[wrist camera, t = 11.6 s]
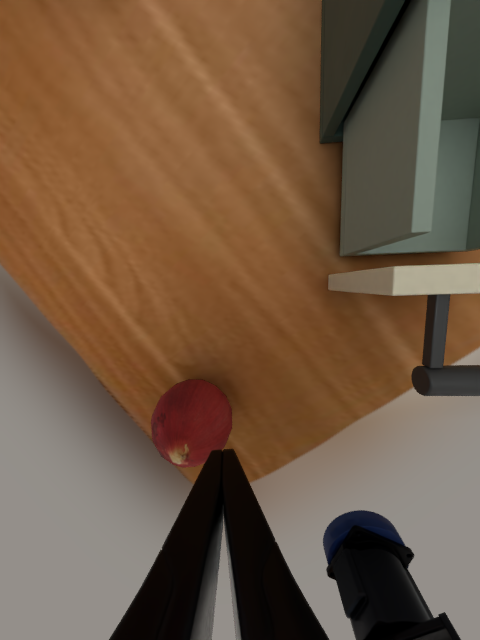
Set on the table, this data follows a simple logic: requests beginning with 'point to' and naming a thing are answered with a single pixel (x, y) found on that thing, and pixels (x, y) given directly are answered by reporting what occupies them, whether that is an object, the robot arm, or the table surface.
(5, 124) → the table surface
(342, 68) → the cabinet
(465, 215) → the drawer
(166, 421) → the onion
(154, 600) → the robot arm
